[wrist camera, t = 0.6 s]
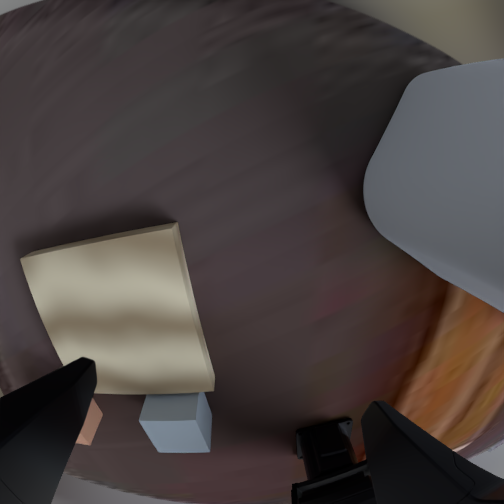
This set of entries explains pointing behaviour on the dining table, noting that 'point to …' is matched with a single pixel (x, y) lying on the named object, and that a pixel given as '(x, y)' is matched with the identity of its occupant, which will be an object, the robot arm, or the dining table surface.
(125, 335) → the birch board
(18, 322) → the dining table surface
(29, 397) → the robot arm
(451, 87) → the plastic bottle
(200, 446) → the slate block
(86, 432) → the terracotta block
